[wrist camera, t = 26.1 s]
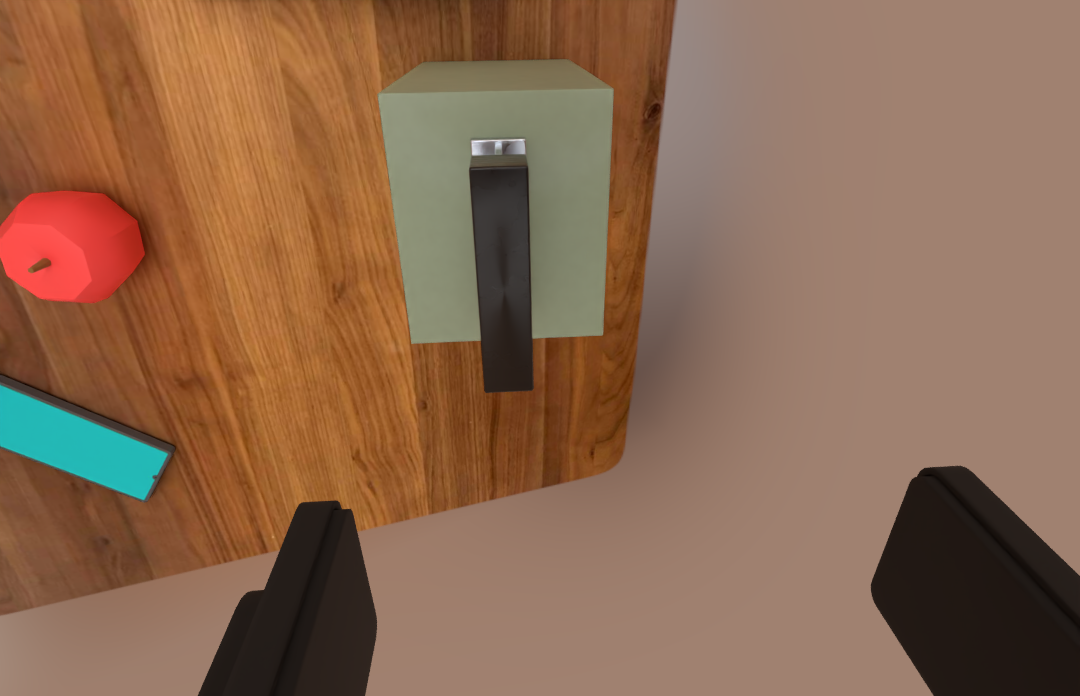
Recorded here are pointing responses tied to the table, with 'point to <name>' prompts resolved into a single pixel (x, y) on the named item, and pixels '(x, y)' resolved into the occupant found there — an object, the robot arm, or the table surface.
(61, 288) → the apple
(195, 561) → the table surface
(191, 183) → the table surface
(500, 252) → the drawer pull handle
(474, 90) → the stand
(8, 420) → the smartphone
